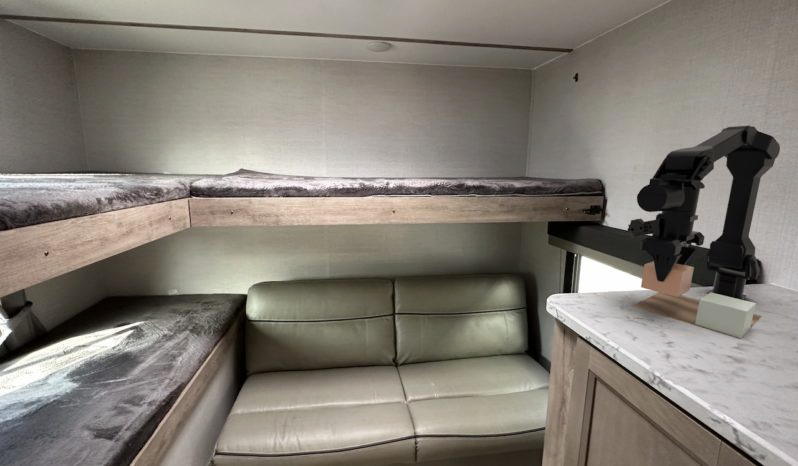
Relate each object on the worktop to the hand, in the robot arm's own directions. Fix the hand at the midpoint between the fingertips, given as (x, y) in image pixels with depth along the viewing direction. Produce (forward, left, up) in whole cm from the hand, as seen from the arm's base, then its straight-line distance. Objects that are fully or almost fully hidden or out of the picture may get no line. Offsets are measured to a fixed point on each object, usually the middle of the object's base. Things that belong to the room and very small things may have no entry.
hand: (666, 278), depth 78 cm
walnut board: (-5, +5, -8) cm, 11 cm away
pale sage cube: (0, +11, -7) cm, 13 cm away
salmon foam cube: (0, 0, -2) cm, 2 cm away
